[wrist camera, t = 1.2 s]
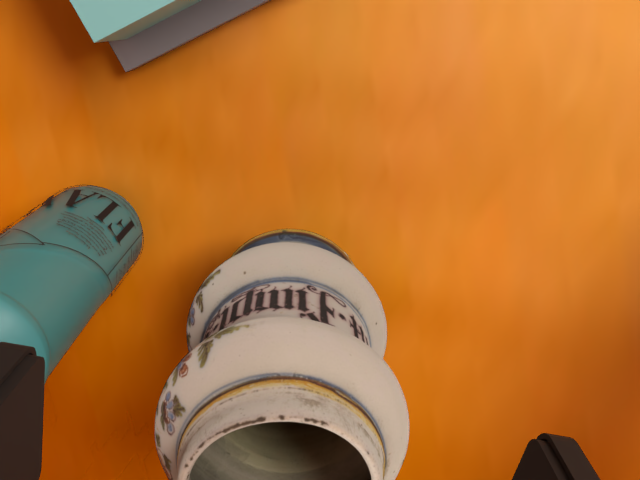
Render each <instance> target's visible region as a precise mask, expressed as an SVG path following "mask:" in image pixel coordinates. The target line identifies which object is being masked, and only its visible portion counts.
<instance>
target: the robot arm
mask: <svg viewBox="0 0 640 480" xmlns="http://www.w3.org/2000/svg"><path fill="white" fill-rule="evenodd" d="M44 379H45V360H44V358H43V357H41V356H37V355H36V350H35V348H34V347H31V346H25V345H19V344H13V343H7V342H0V480H39V477H40V473H41V462H42V434H43V407H44ZM512 480H600V479H599V477H598V475H597V474H596V472H595V471H594V469H593V467H592V466H591V464H590V463H589V461H588V459H587V458H586V456H585V455H584V453H583V451H582V450H581V448H580V447H579V445H578V443H577V442H576V441H575V440H574V439H572V438H570V437H565V436H559V435H553V434H547V433H543V434H540V435H539V436H538V437H537V439H532V440H531V441H529V443H528V445H527V447H526V449H525V452H524V454H523V456H522V458H521V461H520V463H519V465H518V467H517V470H516V472H515V474H514V476H513V479H512Z"/></svg>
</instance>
